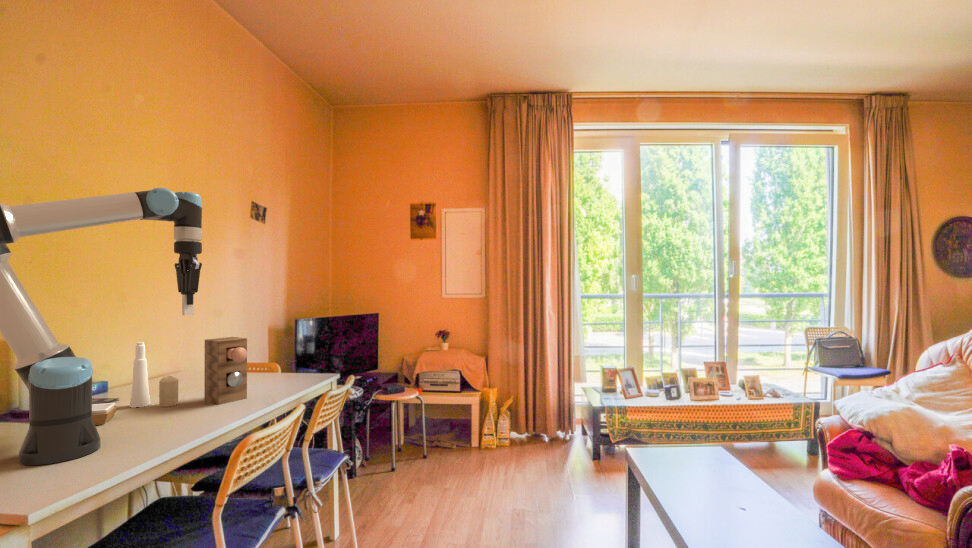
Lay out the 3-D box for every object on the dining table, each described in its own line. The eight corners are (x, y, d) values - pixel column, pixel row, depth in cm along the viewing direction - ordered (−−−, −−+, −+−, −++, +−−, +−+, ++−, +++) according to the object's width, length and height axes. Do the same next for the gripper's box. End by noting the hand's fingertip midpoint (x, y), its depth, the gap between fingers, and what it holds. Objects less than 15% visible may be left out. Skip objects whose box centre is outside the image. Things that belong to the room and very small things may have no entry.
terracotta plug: (247, 361, 166) (247, 346, 166) (232, 363, 162) (232, 348, 162) (230, 358, 172) (230, 344, 172) (216, 360, 168) (216, 346, 168)
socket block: (246, 398, 170) (246, 338, 171) (218, 404, 162) (219, 341, 162) (232, 394, 176) (232, 336, 176) (204, 400, 167) (204, 339, 168)
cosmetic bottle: (143, 402, 165) (143, 340, 165) (155, 404, 163) (155, 341, 163) (125, 407, 159) (125, 343, 159) (137, 408, 157) (137, 343, 157)
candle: (181, 404, 163) (181, 375, 163) (163, 407, 158) (163, 378, 158) (173, 402, 166) (173, 374, 166) (156, 405, 161) (156, 376, 161)
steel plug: (242, 385, 167) (242, 370, 168) (228, 388, 163) (228, 373, 163) (226, 381, 174) (226, 367, 174) (212, 384, 169) (212, 370, 169)
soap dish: (54, 431, 134) (54, 414, 134) (68, 422, 143) (68, 405, 143) (108, 425, 139) (108, 409, 140) (118, 417, 148) (118, 401, 148)
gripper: (210, 241, 148) (210, 315, 147) (190, 243, 155) (190, 313, 155) (185, 239, 141) (184, 316, 141) (165, 241, 149) (165, 315, 148)
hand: (187, 315), depth 148 cm, fingers closed
